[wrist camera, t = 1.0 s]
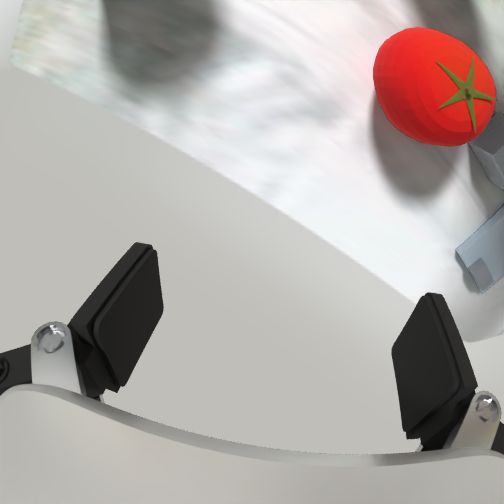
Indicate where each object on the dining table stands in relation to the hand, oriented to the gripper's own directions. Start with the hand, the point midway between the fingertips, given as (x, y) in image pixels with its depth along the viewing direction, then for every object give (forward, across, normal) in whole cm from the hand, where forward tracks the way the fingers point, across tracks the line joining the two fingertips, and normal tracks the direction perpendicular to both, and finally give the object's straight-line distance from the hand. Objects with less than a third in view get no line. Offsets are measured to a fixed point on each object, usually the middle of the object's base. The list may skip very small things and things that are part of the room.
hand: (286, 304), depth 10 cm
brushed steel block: (+25, -24, -7) cm, 36 cm away
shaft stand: (+25, -32, +5) cm, 41 cm away
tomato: (+25, -11, -10) cm, 29 cm away
